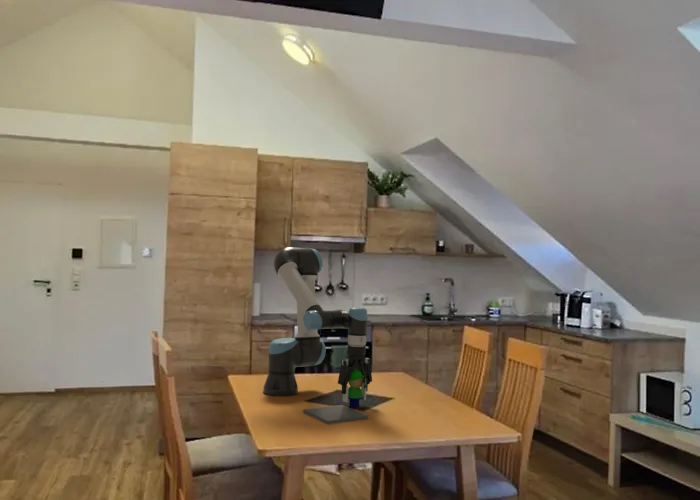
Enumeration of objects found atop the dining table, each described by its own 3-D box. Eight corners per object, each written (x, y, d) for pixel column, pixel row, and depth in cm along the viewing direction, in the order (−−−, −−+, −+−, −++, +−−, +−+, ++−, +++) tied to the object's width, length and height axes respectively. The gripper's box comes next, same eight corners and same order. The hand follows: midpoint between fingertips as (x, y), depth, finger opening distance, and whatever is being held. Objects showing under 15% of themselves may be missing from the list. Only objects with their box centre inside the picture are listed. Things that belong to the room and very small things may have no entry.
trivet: (303, 412, 235) (303, 409, 235) (341, 407, 245) (342, 404, 245) (328, 424, 220) (328, 421, 220) (368, 418, 230) (368, 415, 230)
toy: (362, 409, 243) (364, 372, 243) (341, 407, 245) (343, 370, 245) (366, 404, 252) (367, 368, 252) (345, 402, 254) (347, 366, 254)
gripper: (340, 347, 240) (337, 405, 240) (382, 345, 252) (380, 400, 251) (330, 345, 246) (327, 401, 246) (371, 342, 258) (369, 396, 258)
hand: (354, 400), depth 249 cm, fingers open, 8 cm apart
